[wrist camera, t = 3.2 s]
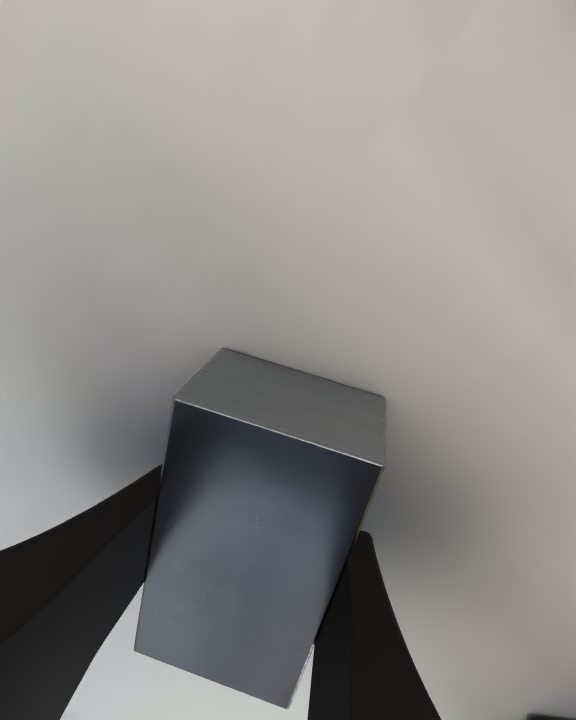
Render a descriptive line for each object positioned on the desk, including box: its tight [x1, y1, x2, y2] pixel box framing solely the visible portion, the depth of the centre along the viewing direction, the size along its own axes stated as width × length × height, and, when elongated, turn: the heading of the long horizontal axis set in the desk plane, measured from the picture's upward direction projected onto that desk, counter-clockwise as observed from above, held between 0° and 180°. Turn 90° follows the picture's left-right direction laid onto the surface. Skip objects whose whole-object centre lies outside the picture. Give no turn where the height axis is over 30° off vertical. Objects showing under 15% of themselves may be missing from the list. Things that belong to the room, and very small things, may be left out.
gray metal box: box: [134, 348, 386, 709], centre depth 12 cm, size 4×8×3 cm, turn 166°
